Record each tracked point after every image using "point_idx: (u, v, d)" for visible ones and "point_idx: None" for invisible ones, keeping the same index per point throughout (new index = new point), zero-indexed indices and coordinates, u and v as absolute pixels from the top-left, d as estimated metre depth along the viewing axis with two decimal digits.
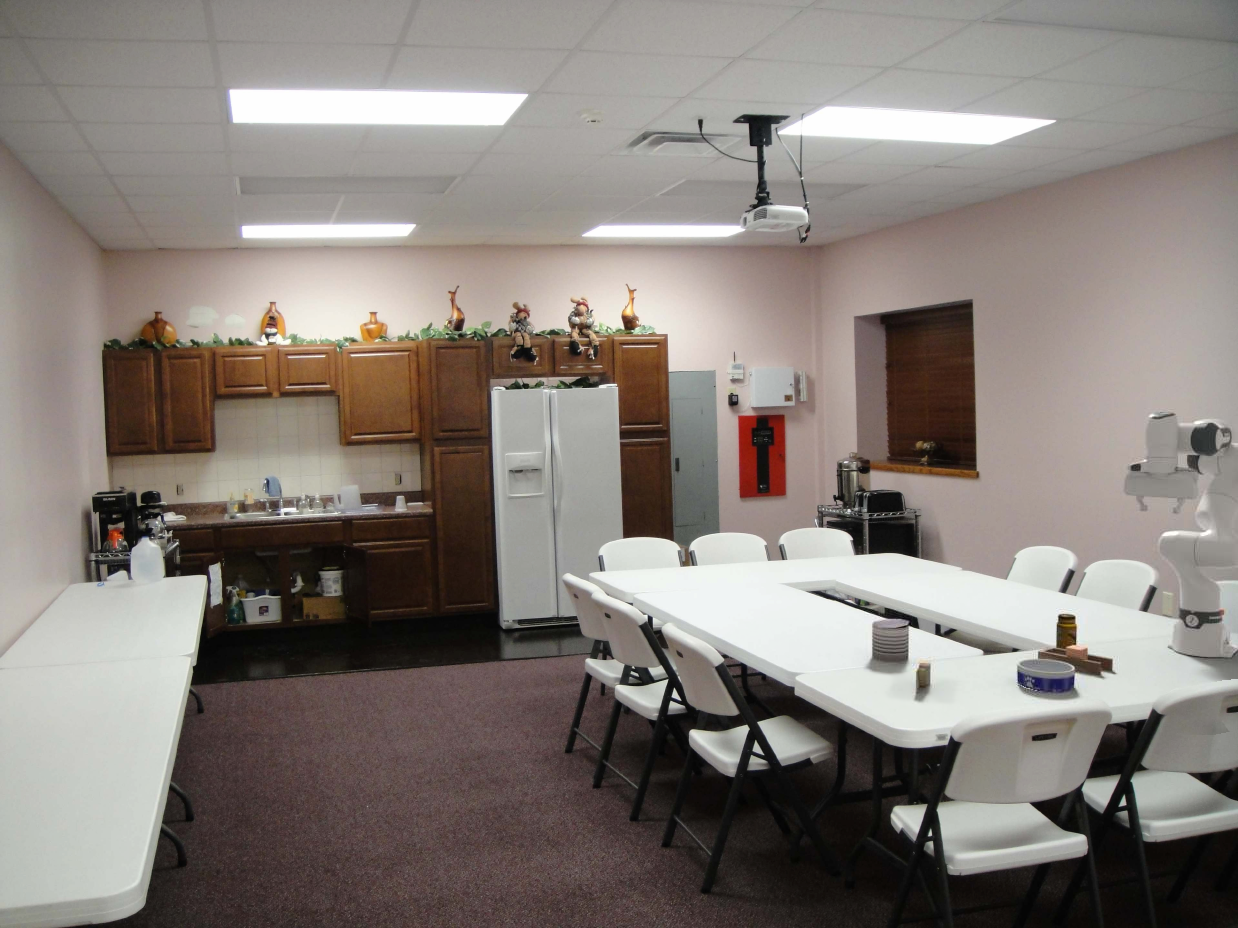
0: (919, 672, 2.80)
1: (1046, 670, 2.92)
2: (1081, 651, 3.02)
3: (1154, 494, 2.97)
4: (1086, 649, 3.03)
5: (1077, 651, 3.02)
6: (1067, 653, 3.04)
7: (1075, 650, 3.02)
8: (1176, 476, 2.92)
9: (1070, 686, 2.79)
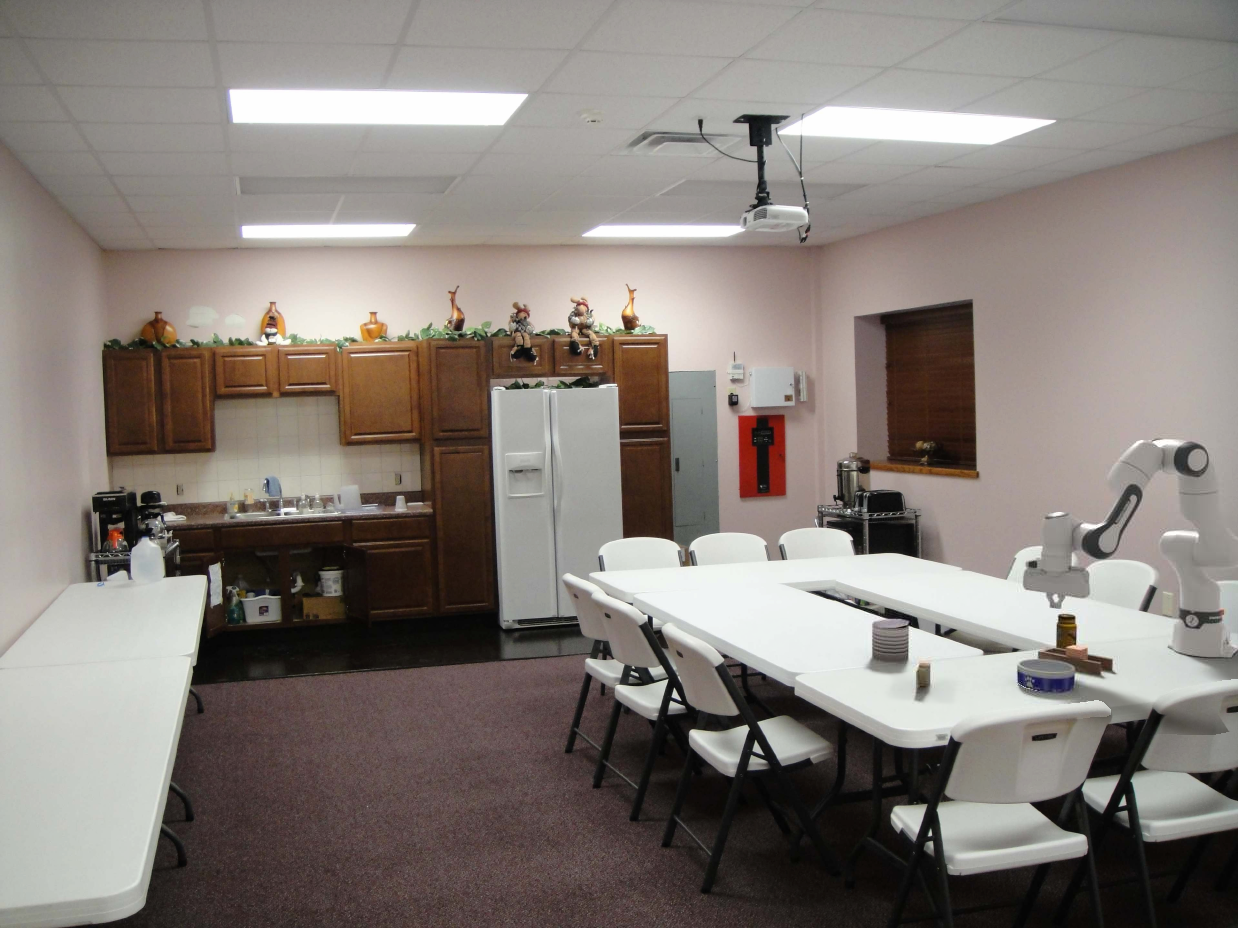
0: (919, 672, 2.80)
1: (1046, 670, 2.92)
2: (1081, 651, 3.02)
3: (1049, 591, 3.08)
4: (1086, 649, 3.03)
5: (1077, 651, 3.02)
6: (1067, 653, 3.04)
7: (1075, 650, 3.02)
8: (1069, 575, 3.03)
9: (1070, 686, 2.79)
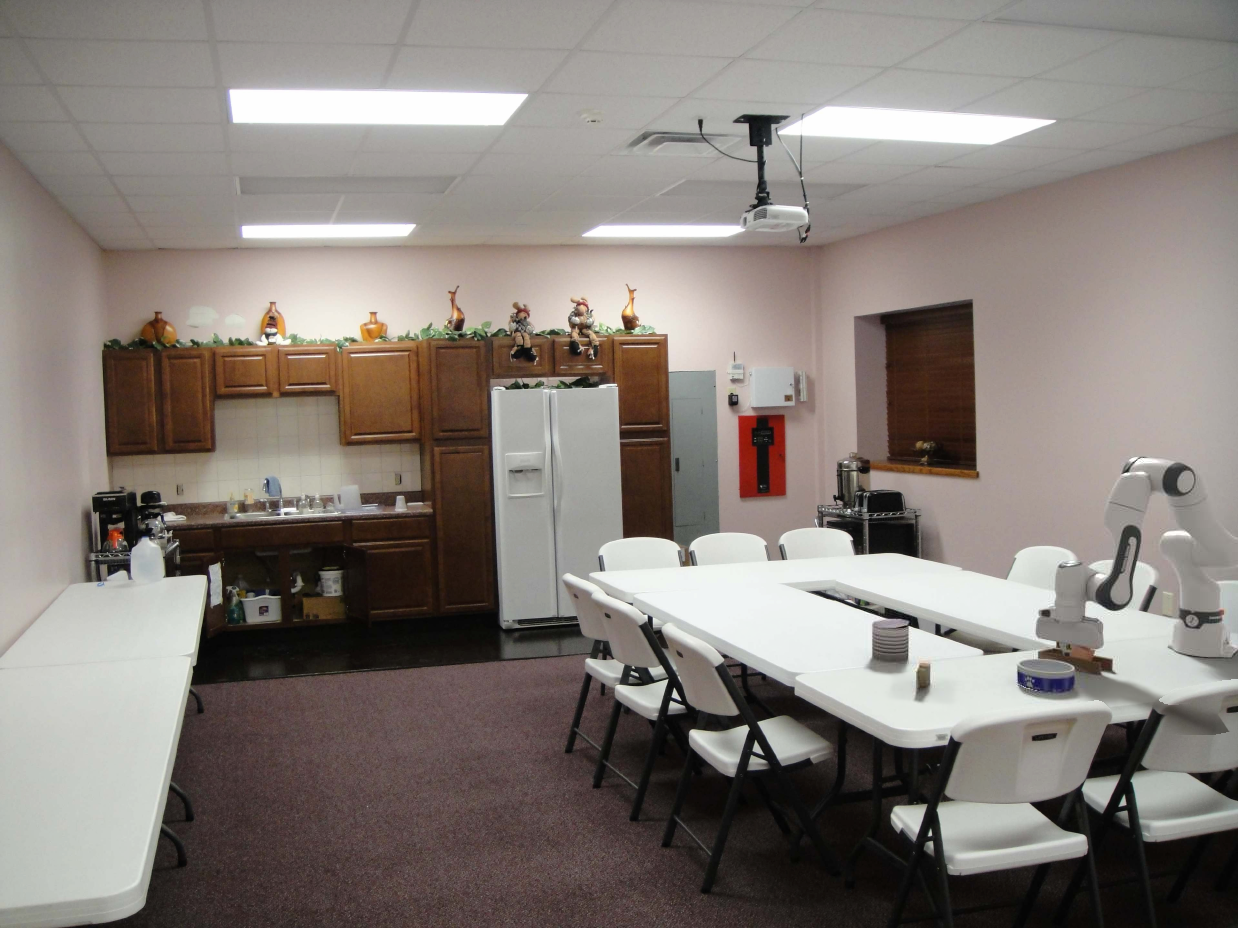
0: (919, 672, 2.80)
1: (1046, 670, 2.92)
2: (1088, 653, 3.00)
3: (1062, 640, 3.06)
4: (1093, 651, 3.02)
5: (1084, 652, 3.00)
6: (1074, 651, 3.03)
7: (1083, 651, 3.00)
8: (1082, 625, 3.01)
9: (1070, 686, 2.79)
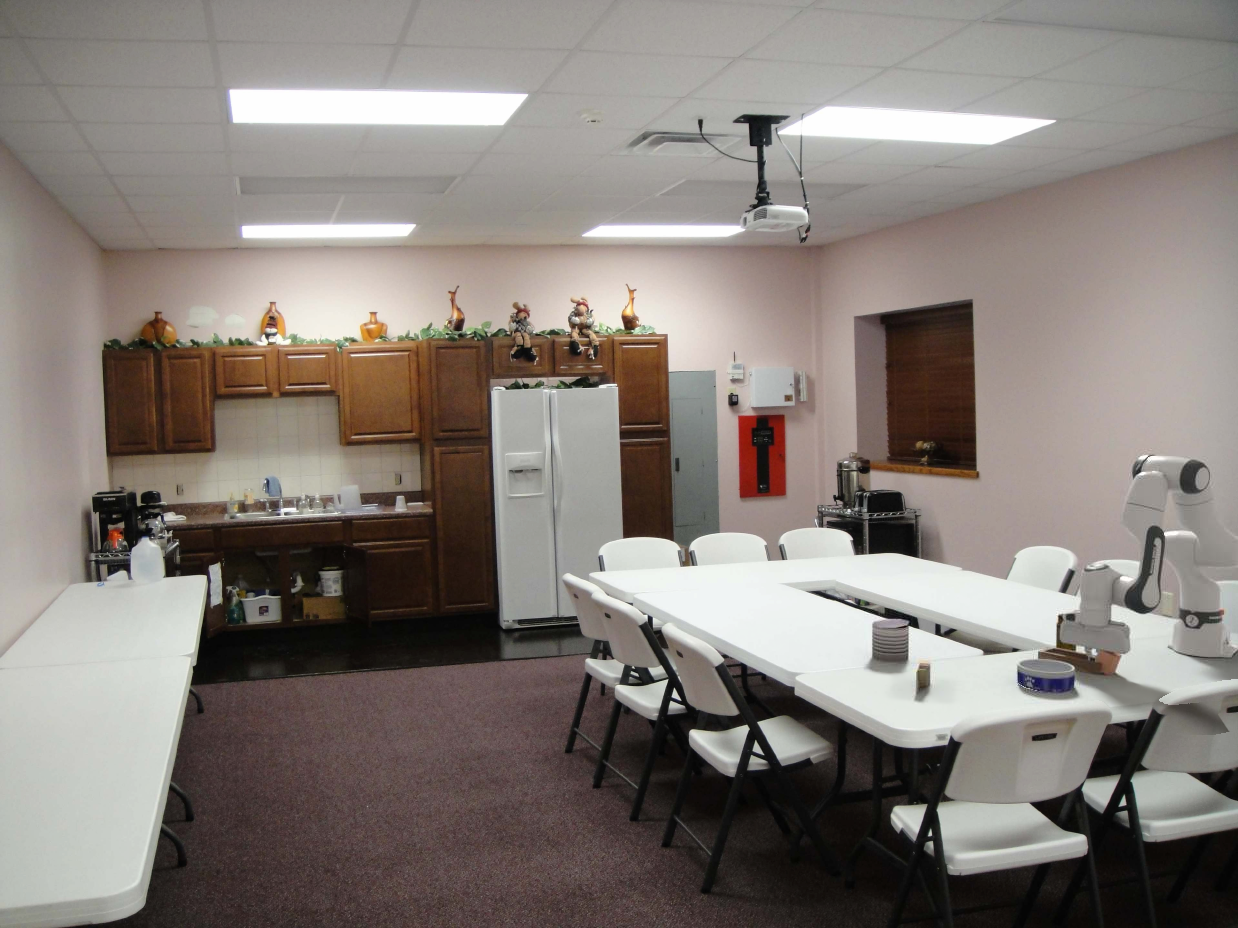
0: (919, 672, 2.80)
1: (1046, 670, 2.92)
2: (1114, 658, 2.94)
3: (1088, 645, 3.00)
4: (1119, 656, 2.95)
5: (1110, 657, 2.94)
6: (1099, 656, 2.96)
7: (1109, 656, 2.94)
8: (1109, 630, 2.94)
9: (1070, 686, 2.79)
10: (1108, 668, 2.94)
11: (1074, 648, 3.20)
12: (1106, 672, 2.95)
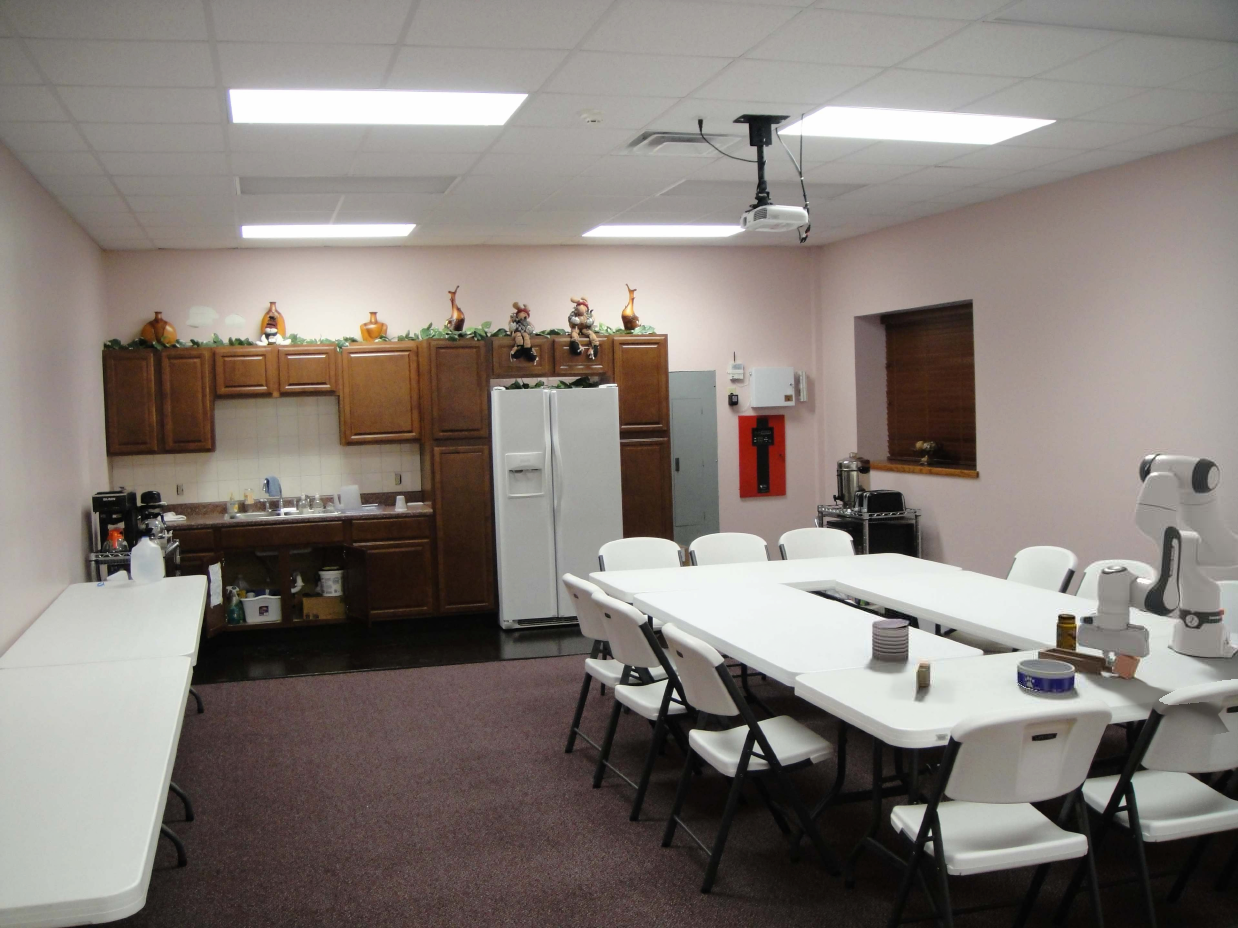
0: (919, 672, 2.80)
1: (1046, 670, 2.92)
2: (1133, 662, 2.89)
3: (1106, 648, 2.95)
4: (1138, 660, 2.91)
5: (1129, 661, 2.89)
6: (1118, 660, 2.92)
7: (1128, 659, 2.90)
8: (1127, 633, 2.90)
9: (1070, 686, 2.79)
10: (1127, 672, 2.90)
11: (1074, 648, 3.20)
12: (1125, 676, 2.91)
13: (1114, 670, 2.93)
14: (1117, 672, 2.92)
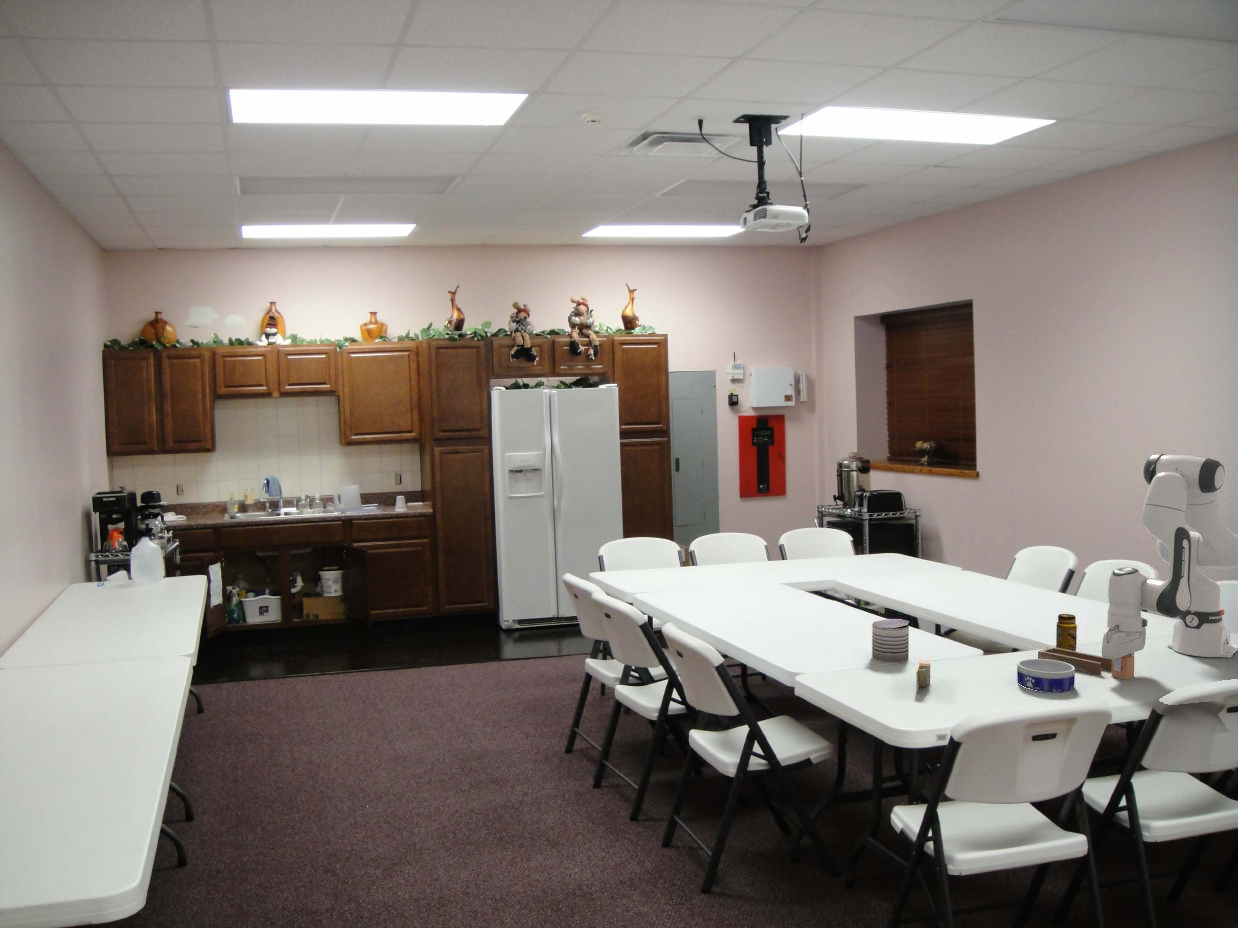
0: (919, 672, 2.80)
1: (1046, 670, 2.91)
2: (1128, 660, 2.91)
3: None
4: (1133, 658, 2.92)
5: (1124, 660, 2.91)
6: None
7: (1122, 659, 2.91)
8: None
9: (1070, 686, 2.79)
10: (1125, 672, 2.91)
11: (1074, 648, 3.20)
12: (1124, 676, 2.91)
13: (1113, 674, 2.94)
14: (1116, 675, 2.93)
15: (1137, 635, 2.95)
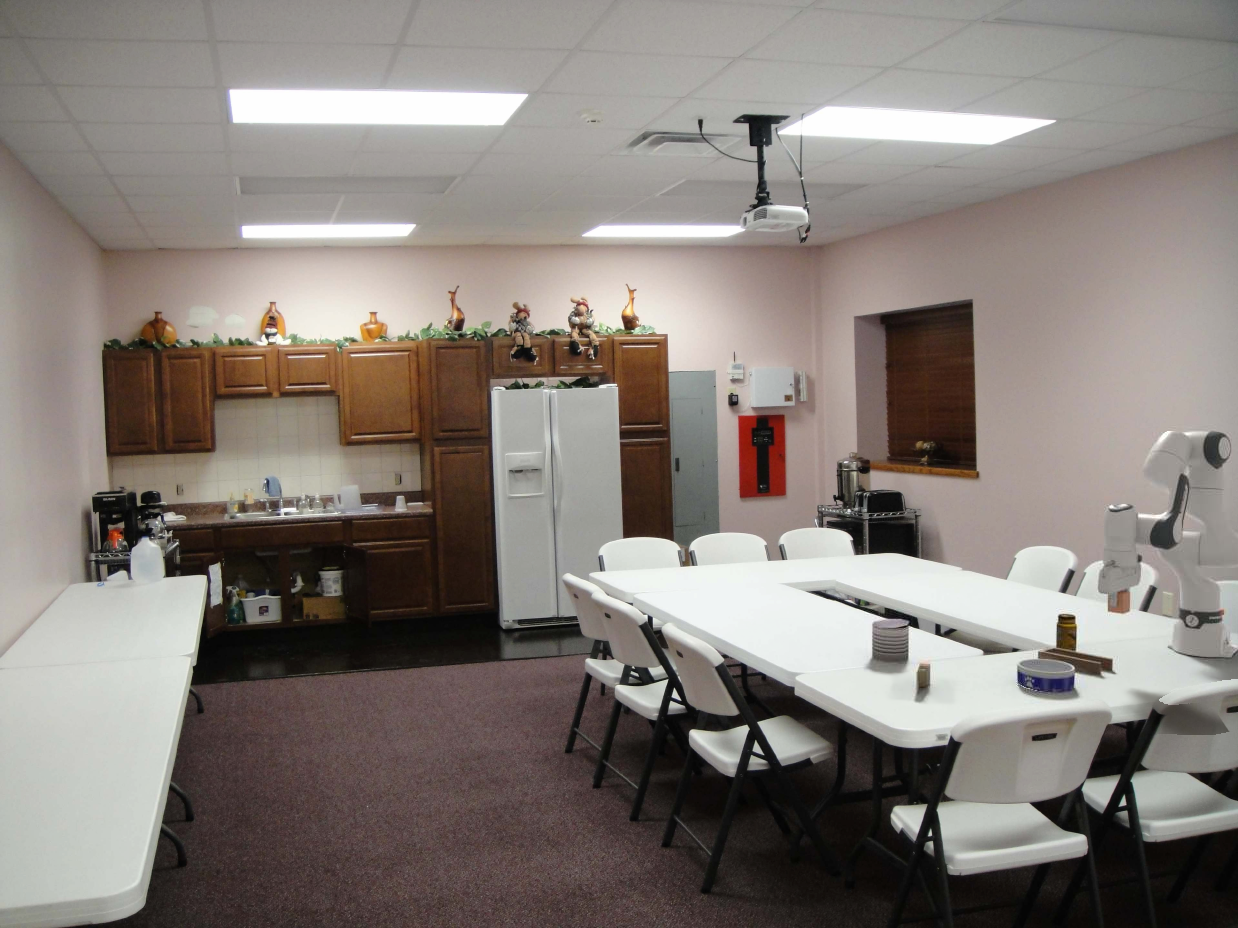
0: (919, 673, 2.80)
1: (1046, 670, 2.92)
2: (1124, 595, 2.93)
3: None
4: (1129, 593, 2.95)
5: (1120, 595, 2.93)
6: None
7: (1118, 594, 2.94)
8: None
9: (1070, 686, 2.79)
10: (1121, 607, 2.93)
11: (1074, 648, 3.20)
12: (1121, 611, 2.93)
13: (1109, 609, 2.96)
14: (1112, 610, 2.95)
15: (1132, 571, 2.97)
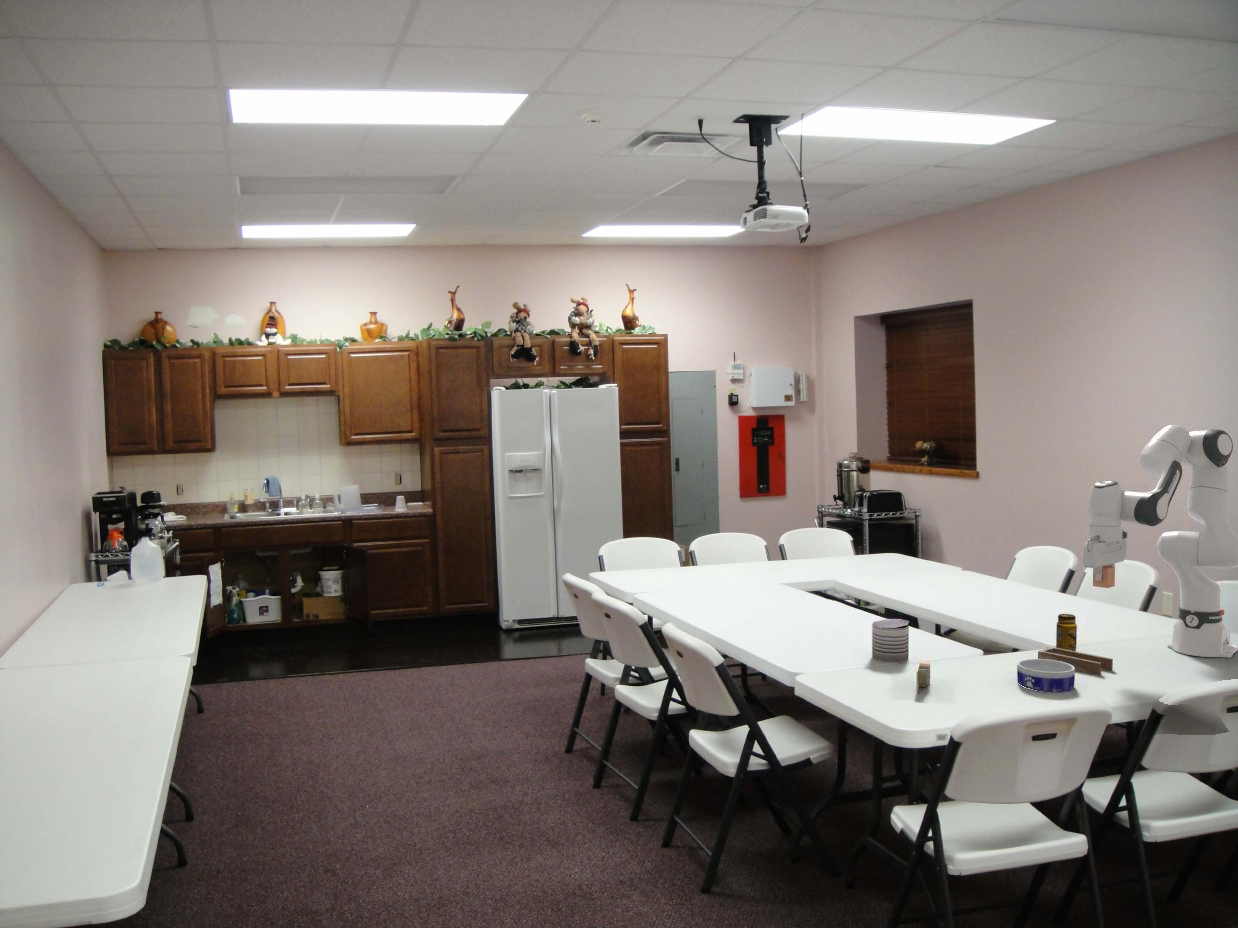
0: (919, 673, 2.80)
1: (1046, 670, 2.91)
2: (1108, 570, 3.00)
3: None
4: (1113, 568, 3.02)
5: (1104, 570, 3.00)
6: (1094, 573, 3.03)
7: (1102, 569, 3.01)
8: None
9: (1070, 686, 2.79)
10: (1106, 581, 3.00)
11: (1074, 648, 3.20)
12: (1105, 586, 3.00)
13: (1094, 584, 3.03)
14: (1097, 585, 3.02)
15: (1118, 547, 3.04)
